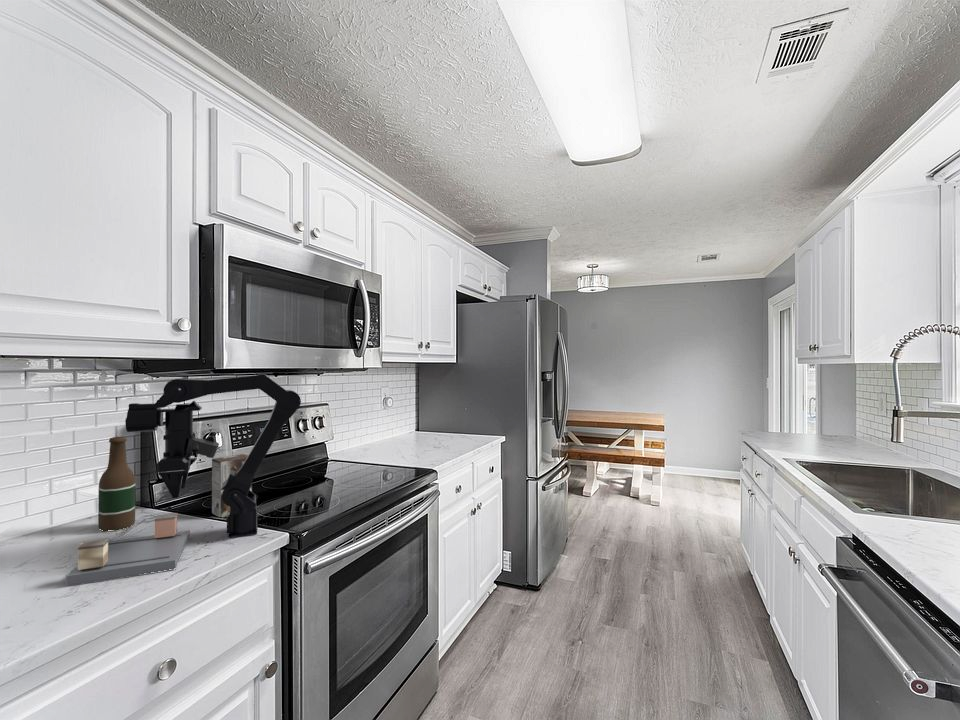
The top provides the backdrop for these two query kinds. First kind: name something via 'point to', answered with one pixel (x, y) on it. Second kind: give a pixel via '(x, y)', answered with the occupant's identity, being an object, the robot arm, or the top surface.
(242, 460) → the coffee box
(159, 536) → the block
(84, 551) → the block
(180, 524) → the top surface
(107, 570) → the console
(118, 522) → the beer bottle
